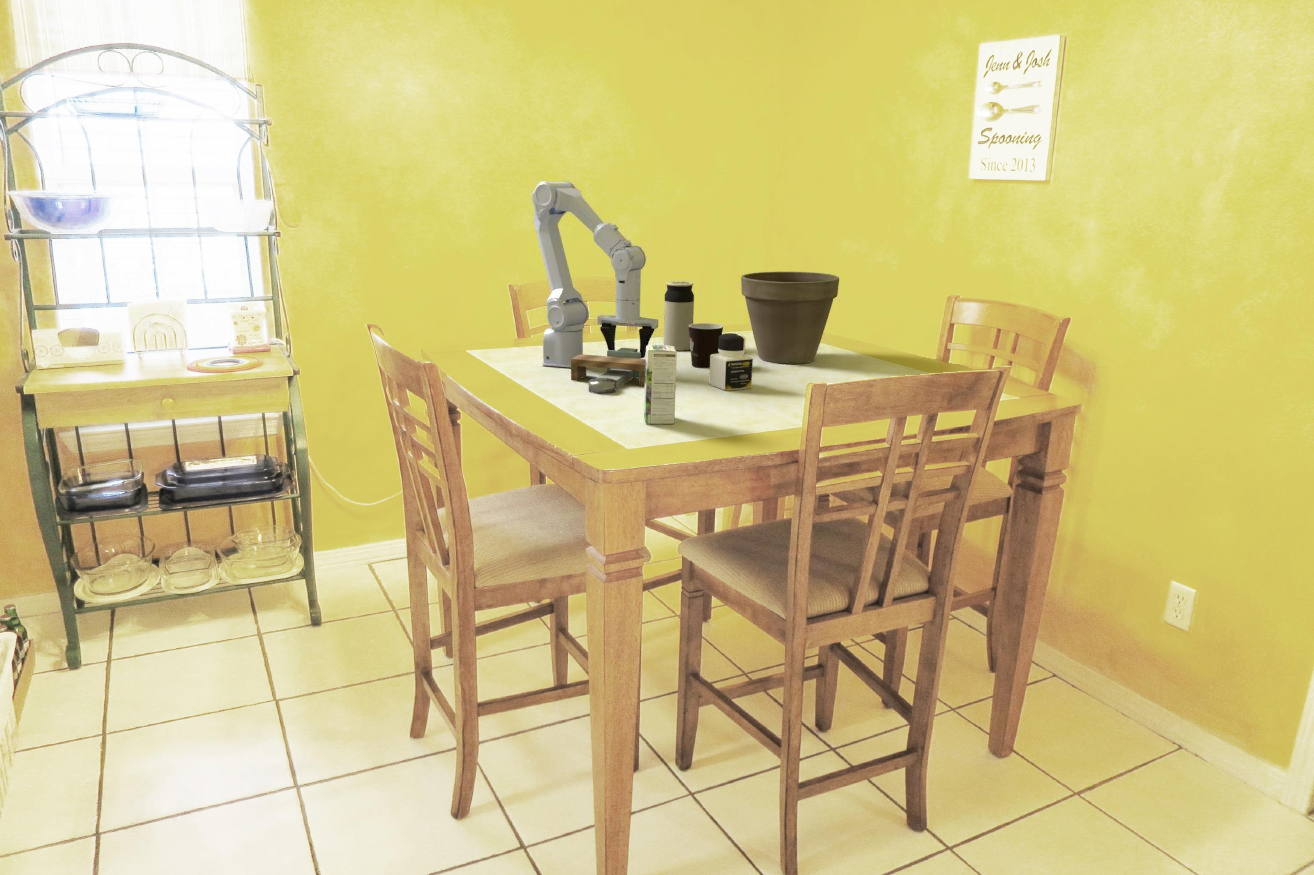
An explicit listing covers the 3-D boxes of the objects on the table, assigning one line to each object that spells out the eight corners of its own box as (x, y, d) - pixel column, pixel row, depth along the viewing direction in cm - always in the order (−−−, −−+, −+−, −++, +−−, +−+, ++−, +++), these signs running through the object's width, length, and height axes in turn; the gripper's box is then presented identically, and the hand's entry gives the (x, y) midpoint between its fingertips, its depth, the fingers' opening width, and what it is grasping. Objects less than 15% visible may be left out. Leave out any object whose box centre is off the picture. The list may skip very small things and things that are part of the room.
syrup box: (643, 416, 181) (644, 344, 177) (672, 416, 181) (674, 344, 177) (645, 424, 175) (646, 350, 171) (675, 424, 176) (677, 350, 172)
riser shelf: (571, 380, 211) (570, 359, 209) (580, 375, 216) (580, 354, 215) (645, 386, 206) (645, 364, 205) (653, 381, 212) (653, 359, 210)
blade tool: (589, 386, 205) (589, 360, 204) (613, 371, 221) (613, 347, 219) (623, 389, 203) (623, 362, 202) (645, 374, 219) (645, 349, 217)
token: (584, 393, 200) (583, 382, 199) (595, 387, 205) (595, 377, 205) (608, 396, 198) (608, 385, 197) (620, 390, 203) (620, 379, 202)
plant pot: (725, 362, 234) (728, 277, 227) (752, 346, 256) (756, 268, 249) (822, 372, 225) (828, 283, 219) (841, 354, 247) (847, 273, 240)
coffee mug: (719, 370, 225) (720, 329, 222) (684, 368, 226) (685, 328, 223) (725, 361, 236) (726, 322, 233) (692, 359, 237) (693, 320, 234)
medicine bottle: (725, 391, 203) (727, 338, 200) (708, 384, 209) (710, 332, 206) (751, 388, 206) (754, 335, 203) (735, 381, 212) (737, 330, 209)
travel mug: (697, 348, 252) (699, 282, 247) (682, 352, 245) (684, 285, 240) (673, 344, 256) (674, 280, 251) (658, 349, 250) (659, 282, 244)
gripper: (662, 298, 215) (660, 355, 219) (604, 295, 219) (603, 350, 223) (654, 302, 209) (652, 361, 213) (594, 298, 213) (594, 356, 216)
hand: (627, 356), depth 217 cm, fingers open, 7 cm apart
